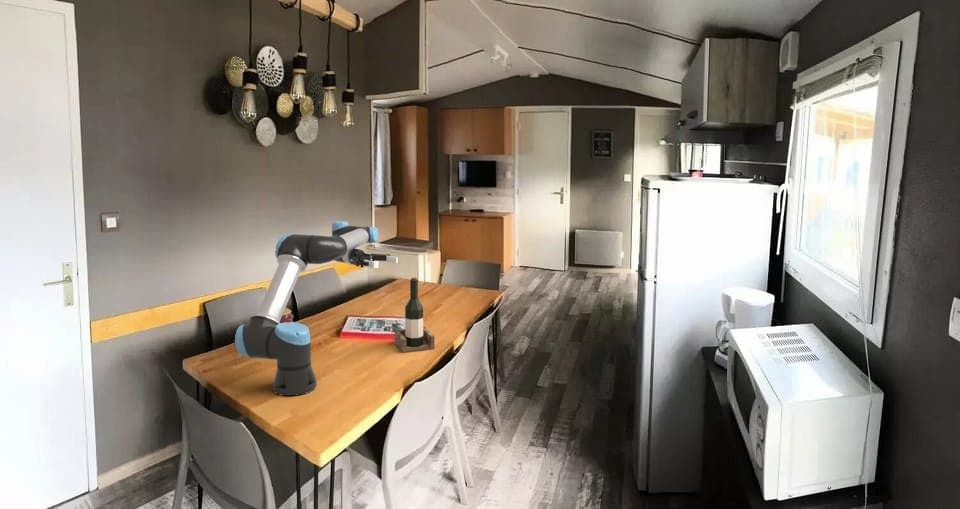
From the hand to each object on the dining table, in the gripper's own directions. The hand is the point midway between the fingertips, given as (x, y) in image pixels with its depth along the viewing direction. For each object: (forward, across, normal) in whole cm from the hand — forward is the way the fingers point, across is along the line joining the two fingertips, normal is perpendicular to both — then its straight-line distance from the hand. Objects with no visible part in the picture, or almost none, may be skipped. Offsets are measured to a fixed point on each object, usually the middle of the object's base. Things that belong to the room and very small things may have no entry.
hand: (386, 262), depth 248 cm
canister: (-34, +33, -36) cm, 60 cm away
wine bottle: (+15, -2, -35) cm, 38 cm away
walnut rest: (+15, -2, -36) cm, 39 cm away
